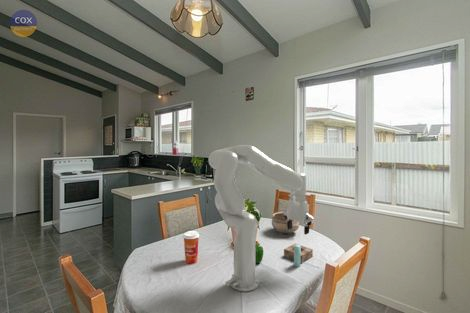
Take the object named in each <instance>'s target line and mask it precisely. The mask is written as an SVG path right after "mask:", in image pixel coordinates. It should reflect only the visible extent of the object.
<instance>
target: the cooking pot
mask: <svg viewBox="0 0 470 313" xmlns="http://www.w3.org/2000/svg"><path fill="white" fill-rule="evenodd" d="M283 212H284V211H279V212H277V211H276V212H274V213H273V214H272V219H271V226H272V227H273V229H274V230H275V231H277V232H278V233H280V234H281V235H290V234H292V233H296V232H297V230H298V229H299V227H300V222H298V221H294V220H291V221H292V228H291V229H289V230H288V227H287V221H286V219H285V217H284V214H283Z"/></svg>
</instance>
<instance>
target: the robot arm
mask: <svg viewBox="0 0 470 313" xmlns="http://www.w3.org/2000/svg"><path fill="white" fill-rule="evenodd" d="M207 161H208V164H209V166H210V167H211V168H212V169H213V170H215V171H214V175H213V185H214V189H215V190H216V194H215V196H214V204H215V207H216V209H217V210H218V213H219V214H220V216H221V218H222V220H223V221H224V223H225V224H226V226H227V227H229V228H230V229H231V230H234V231H235V233H236V234H235V237H234V241H233V274H231V278H230V279H229V280H227V281H225V282H224V283H225V286H226V287H230V286H231V287H232V289H234V290H235V291H239V292H251V291H254V290H256V289H257V288H258V287H259V285H260V281H259V280H260V279H259V278H258V277H257V276H256V264H255V244H257V242H256V241H257V240H256V238H257V233H258V228H259V224H258V223H259V222H258V220H257V218H256V216H254V214H252V213H250V212H249V211H246V210H245V208H246V202H245V199H244V197H243V195H242V193H241V191H240V189H239V187H238V186H237V182H236V181H235V173H236V171H237V168H238V165H239V164H242V165H243V164H244V165H245V166H247V167H249V168H250V169H252V170H253V171H255V172H257V174H259V175H261V176H263V177H265V178H267V179H271V180H274V184H275V185H276V187H278V188H280V189H283V190H288V191H290V193H289V194H288V197H289V199H288V203H287V208H286V210H285V211H282V212H283V214H284V217H285V219H286V221H287V227H288V230H289V229H291V228H292V221H291V220H294V221H298V222H299V223H302V224H303V225H304V227H303V229H304V230H303V233H304V235H308V234H310V226H312V224H313V223H314V221H315V217H313V216H312V215H311V214H309V203H308V201H307V190H306V189H307V175H306V174H305V173H303V172H296V171H294V170H293V169H291V168H290V167H287V166H286V165H284V164H281V163H279V162H278V161H276V160H273V159H272V158H270V157H269V156H267V155H266V154H265V153H264V152H262V151H260V149H258V148H256V147H255V146H253V145H250V144H239V145H238V144H237V145H234V146H229V147H225V148H221V149H217V150H214V151H212V152H211V153H210V154H209V156H208V160H207Z"/></svg>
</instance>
